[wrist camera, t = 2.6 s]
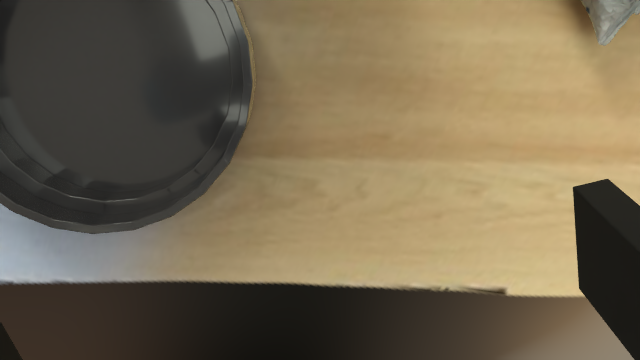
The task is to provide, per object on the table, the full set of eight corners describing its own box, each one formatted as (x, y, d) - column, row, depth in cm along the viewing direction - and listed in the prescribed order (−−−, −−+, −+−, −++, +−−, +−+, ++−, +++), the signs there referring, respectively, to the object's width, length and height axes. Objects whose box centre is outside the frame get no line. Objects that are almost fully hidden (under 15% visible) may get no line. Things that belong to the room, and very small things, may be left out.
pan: (-90, 90, 36) (-148, 97, 31) (80, -144, 34) (46, -176, 29) (142, 261, 39) (123, 291, 34) (312, 56, 37) (316, 57, 32)
